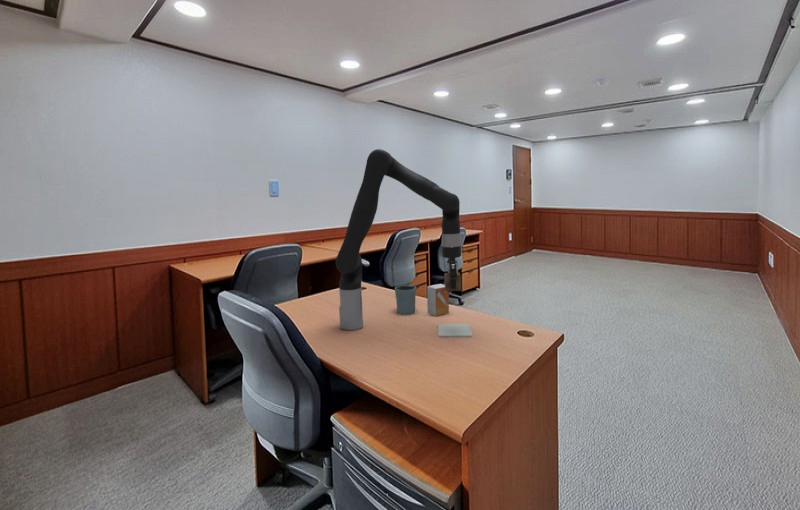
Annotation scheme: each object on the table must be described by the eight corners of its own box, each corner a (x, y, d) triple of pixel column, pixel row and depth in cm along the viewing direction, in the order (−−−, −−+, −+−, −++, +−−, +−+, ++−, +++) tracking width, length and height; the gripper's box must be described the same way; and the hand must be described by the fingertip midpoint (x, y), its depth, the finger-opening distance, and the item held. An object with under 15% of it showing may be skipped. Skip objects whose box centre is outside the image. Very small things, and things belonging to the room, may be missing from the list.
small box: (435, 316, 172) (435, 288, 170) (427, 313, 177) (426, 286, 175) (449, 313, 176) (449, 285, 174) (440, 309, 182) (440, 283, 180)
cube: (445, 291, 149) (445, 276, 148) (444, 287, 155) (444, 273, 154) (461, 290, 149) (460, 275, 148) (459, 286, 154) (459, 272, 153)
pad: (438, 336, 148) (438, 335, 148) (438, 325, 161) (437, 324, 161) (472, 336, 147) (472, 335, 147) (468, 325, 160) (468, 323, 160)
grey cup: (402, 316, 173) (401, 291, 172) (391, 311, 182) (390, 286, 180) (420, 312, 178) (420, 287, 177) (409, 307, 187) (408, 283, 185)
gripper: (441, 242, 156) (442, 282, 159) (442, 247, 142) (444, 291, 145) (459, 242, 156) (460, 281, 158) (462, 247, 141) (463, 290, 144)
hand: (452, 286), depth 151 cm, fingers closed on cube, 6 cm apart
